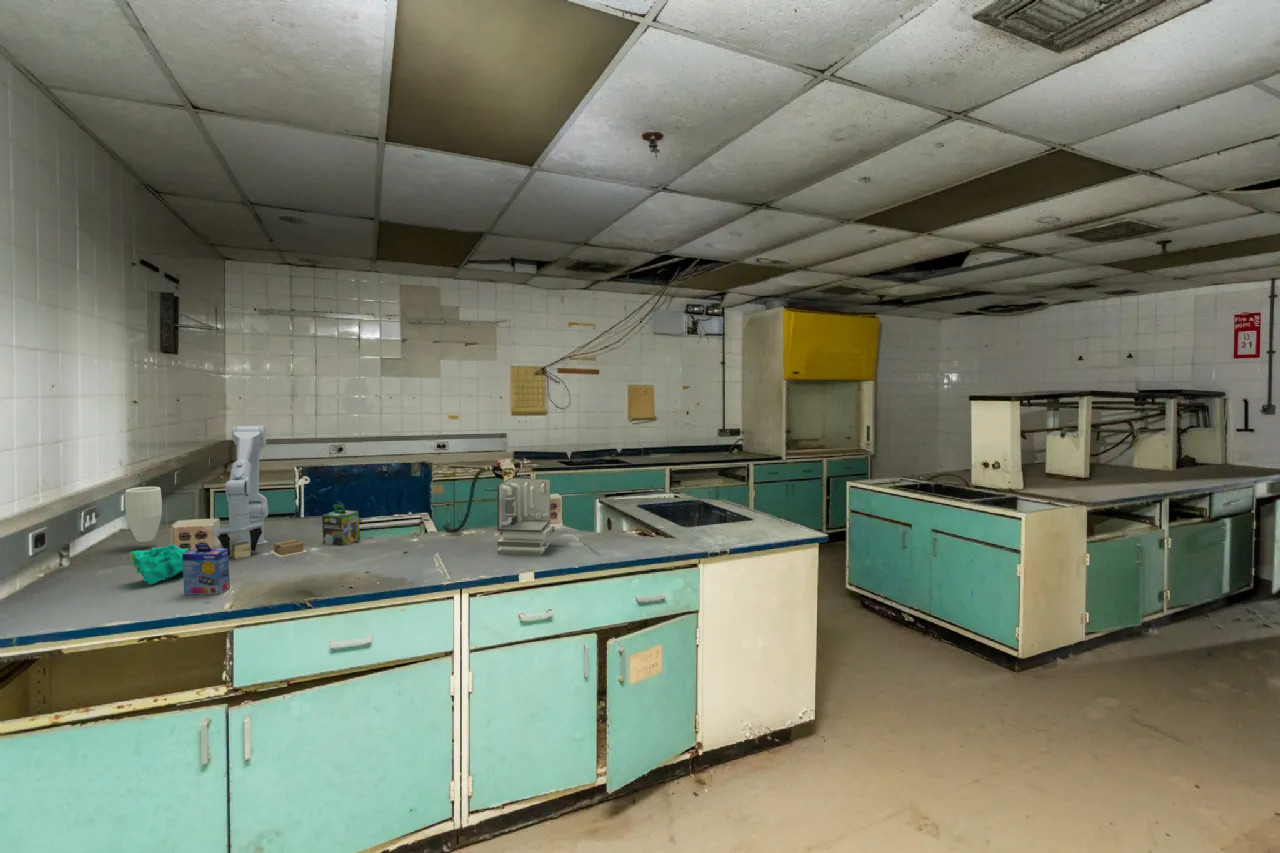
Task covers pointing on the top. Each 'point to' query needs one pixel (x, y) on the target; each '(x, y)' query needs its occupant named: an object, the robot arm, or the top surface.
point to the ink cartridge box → (205, 570)
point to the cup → (143, 511)
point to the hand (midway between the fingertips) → (240, 552)
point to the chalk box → (340, 526)
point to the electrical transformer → (524, 516)
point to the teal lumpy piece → (158, 562)
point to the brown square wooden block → (288, 547)
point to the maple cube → (240, 550)
